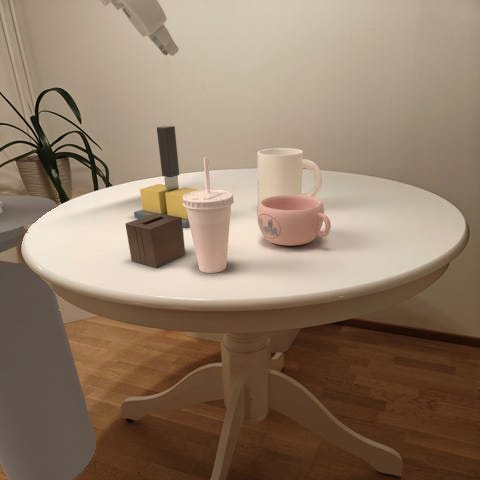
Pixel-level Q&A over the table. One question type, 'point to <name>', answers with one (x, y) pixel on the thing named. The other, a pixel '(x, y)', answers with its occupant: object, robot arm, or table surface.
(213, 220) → the smoothie
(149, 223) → the knife block
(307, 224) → the mug
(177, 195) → the butter
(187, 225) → the butter dish
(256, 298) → the table surface
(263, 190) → the mug
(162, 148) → the knife
